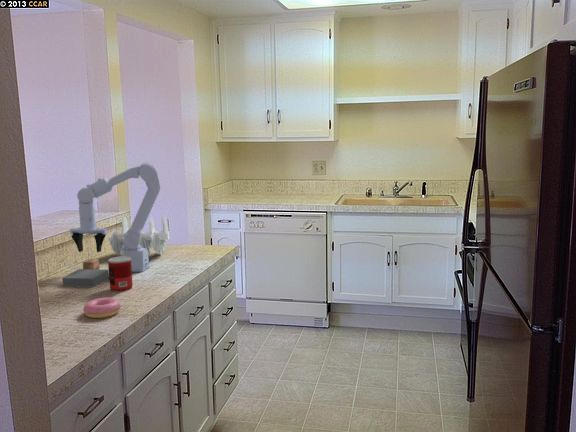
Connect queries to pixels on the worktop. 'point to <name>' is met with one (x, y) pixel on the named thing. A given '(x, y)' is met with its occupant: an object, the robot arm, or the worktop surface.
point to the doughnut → (102, 307)
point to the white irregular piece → (142, 238)
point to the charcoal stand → (85, 277)
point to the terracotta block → (91, 264)
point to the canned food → (120, 273)
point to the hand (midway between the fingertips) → (89, 251)
